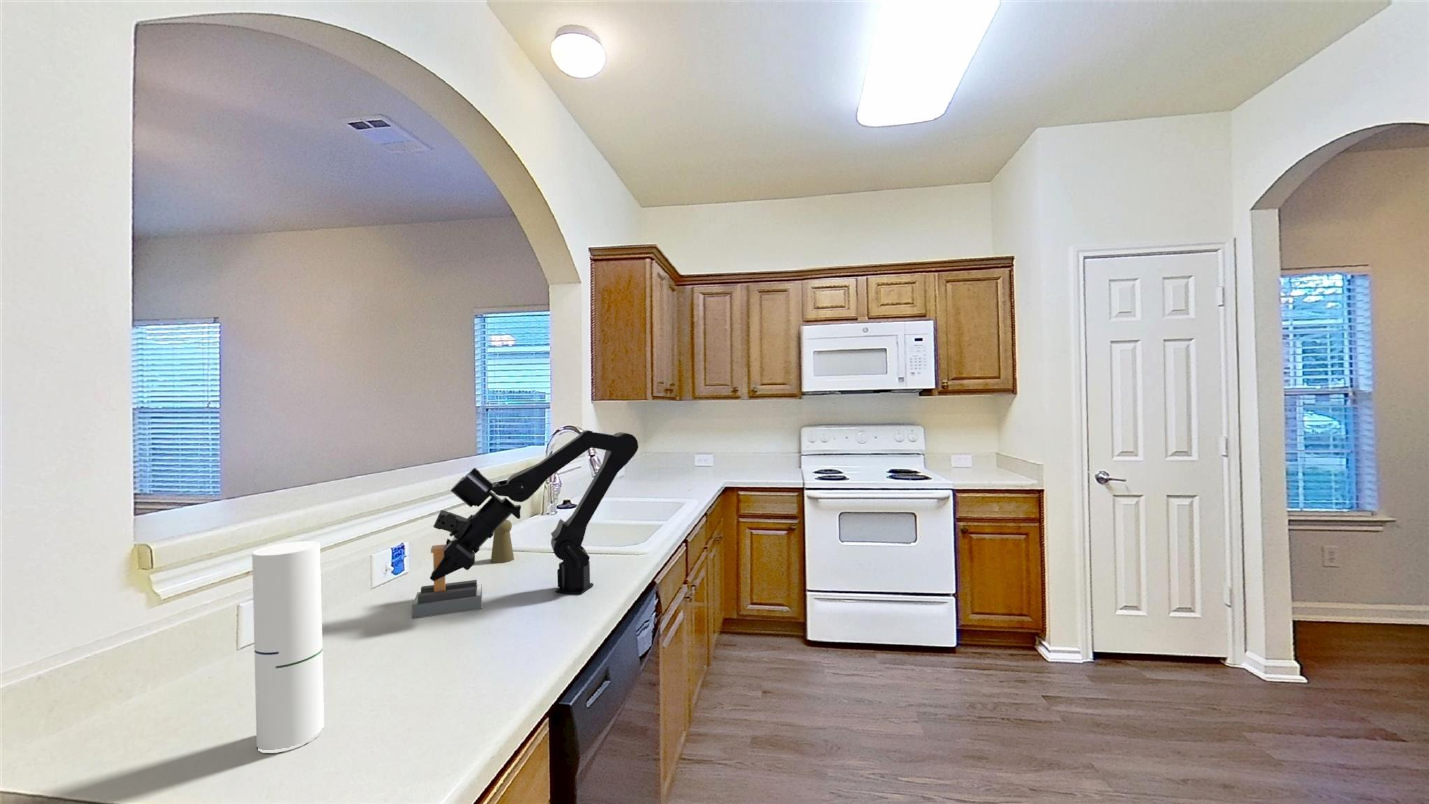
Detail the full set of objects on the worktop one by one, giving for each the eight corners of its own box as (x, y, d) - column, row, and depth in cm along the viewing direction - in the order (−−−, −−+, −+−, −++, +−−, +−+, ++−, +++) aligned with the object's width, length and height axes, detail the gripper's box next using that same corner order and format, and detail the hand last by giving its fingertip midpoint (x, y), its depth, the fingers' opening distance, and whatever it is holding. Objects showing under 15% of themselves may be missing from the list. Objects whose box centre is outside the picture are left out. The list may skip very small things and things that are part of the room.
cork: (506, 563, 154) (505, 522, 154) (486, 562, 155) (485, 522, 155) (518, 557, 160) (517, 518, 160) (498, 556, 161) (498, 517, 161)
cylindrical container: (280, 723, 79) (276, 542, 78) (335, 720, 79) (331, 540, 79) (242, 756, 71) (237, 556, 71) (302, 752, 72) (298, 554, 72)
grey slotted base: (482, 595, 129) (481, 577, 129) (481, 608, 121) (480, 590, 121) (417, 603, 124) (417, 585, 124) (412, 618, 116) (411, 598, 116)
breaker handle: (447, 591, 124) (446, 544, 124) (446, 596, 121) (445, 547, 121) (433, 593, 123) (432, 545, 123) (431, 598, 120) (430, 549, 120)
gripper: (460, 490, 132) (407, 543, 128) (455, 504, 115) (393, 566, 111) (497, 521, 135) (447, 574, 131) (497, 539, 117) (439, 600, 114)
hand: (432, 577), depth 121 cm, fingers closed on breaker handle, 2 cm apart
